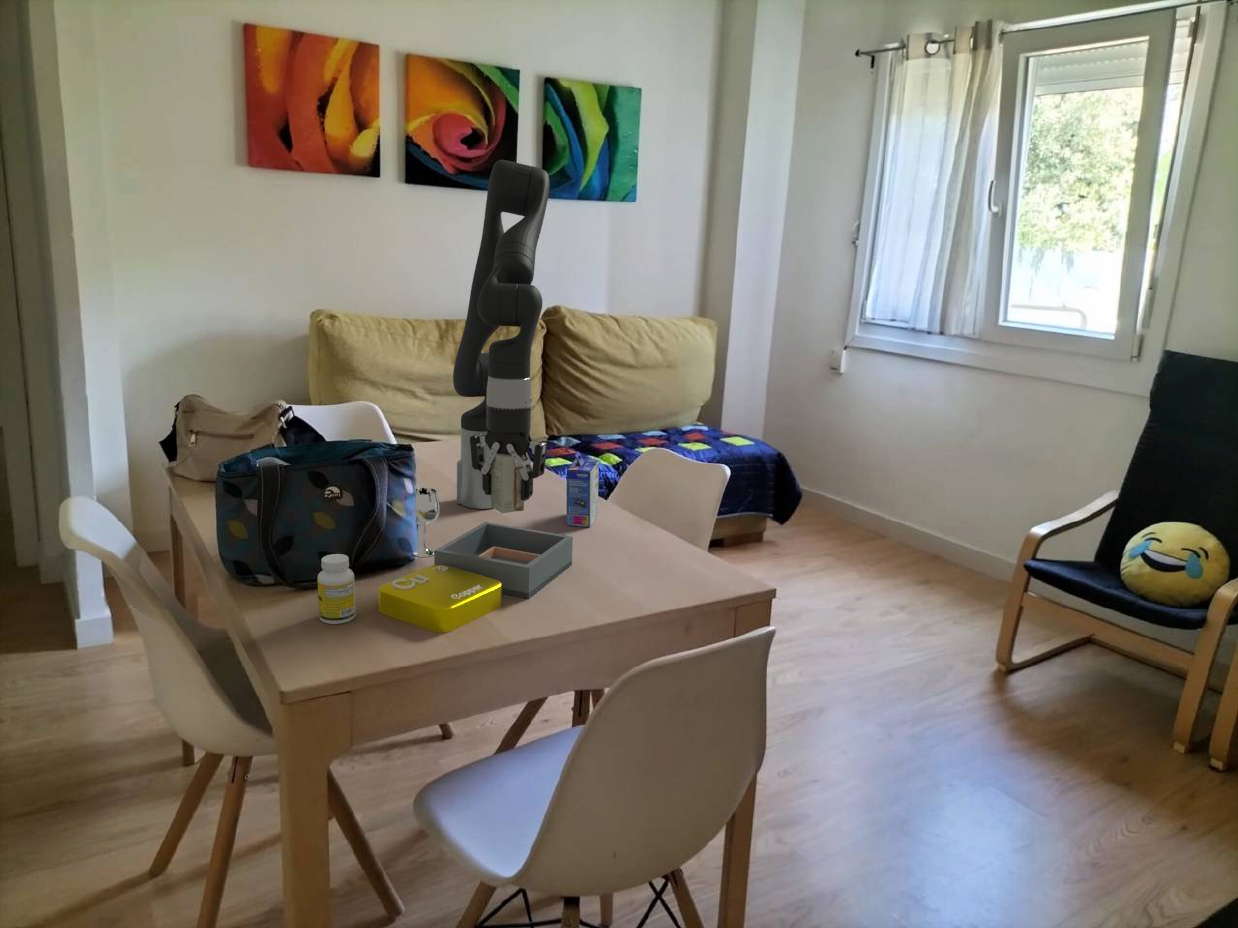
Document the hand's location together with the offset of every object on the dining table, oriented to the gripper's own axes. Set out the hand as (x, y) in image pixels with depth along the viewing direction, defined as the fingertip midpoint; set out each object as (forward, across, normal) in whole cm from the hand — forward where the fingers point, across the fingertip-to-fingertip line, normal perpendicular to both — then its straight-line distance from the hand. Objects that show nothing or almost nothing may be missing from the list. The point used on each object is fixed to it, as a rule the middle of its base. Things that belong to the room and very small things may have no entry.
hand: (507, 496), depth 161 cm
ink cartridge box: (+14, 0, +35) cm, 38 cm away
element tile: (+15, -2, -18) cm, 24 cm away
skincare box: (+2, 0, 0) cm, 2 cm away
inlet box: (+14, 0, 0) cm, 14 cm away
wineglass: (+14, -18, +2) cm, 23 cm away
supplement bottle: (+14, -14, -29) cm, 35 cm away
